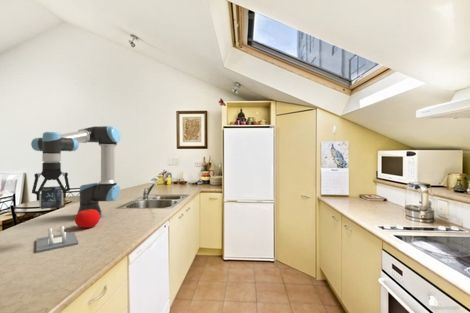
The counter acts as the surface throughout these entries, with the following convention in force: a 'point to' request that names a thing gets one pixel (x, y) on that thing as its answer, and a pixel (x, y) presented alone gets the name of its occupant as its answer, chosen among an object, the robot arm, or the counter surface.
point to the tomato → (87, 218)
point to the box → (51, 197)
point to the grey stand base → (56, 240)
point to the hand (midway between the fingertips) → (51, 205)
